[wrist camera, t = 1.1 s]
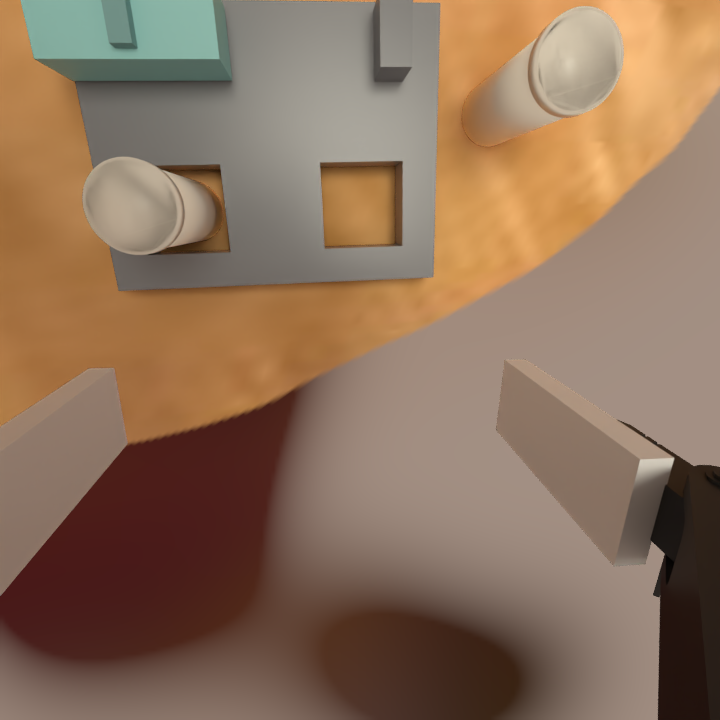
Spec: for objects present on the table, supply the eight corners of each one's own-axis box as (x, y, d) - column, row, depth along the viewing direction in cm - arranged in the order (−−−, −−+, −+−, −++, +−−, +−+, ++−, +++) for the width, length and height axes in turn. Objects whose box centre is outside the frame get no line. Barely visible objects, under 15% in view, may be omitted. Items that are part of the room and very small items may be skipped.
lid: (57, 5, 26) (2, -40, 21) (224, 7, 27) (206, -36, 22) (72, 80, 27) (24, 53, 23) (232, 80, 28) (216, 54, 24)
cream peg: (461, 79, 32) (539, 5, 21) (521, 79, 33) (630, 6, 22) (458, 149, 34) (530, 114, 23) (516, 148, 34) (615, 114, 23)
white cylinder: (156, 179, 32) (72, 157, 21) (221, 177, 33) (172, 155, 22) (167, 244, 34) (94, 256, 23) (229, 242, 34) (187, 253, 23)
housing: (82, 19, 29) (26, -30, 23) (428, 22, 31) (454, -22, 25) (134, 285, 35) (99, 297, 29) (424, 272, 37) (444, 282, 31)
